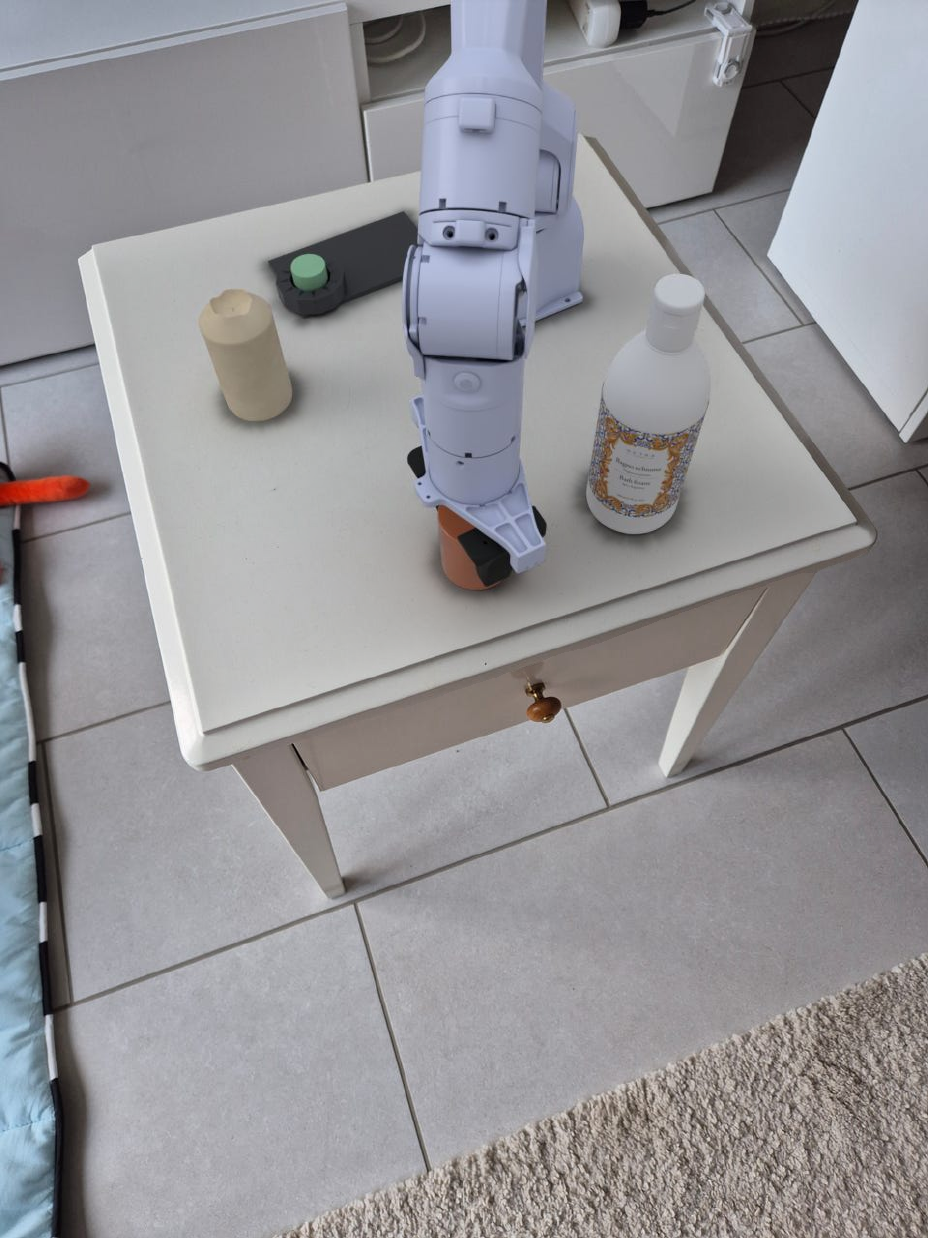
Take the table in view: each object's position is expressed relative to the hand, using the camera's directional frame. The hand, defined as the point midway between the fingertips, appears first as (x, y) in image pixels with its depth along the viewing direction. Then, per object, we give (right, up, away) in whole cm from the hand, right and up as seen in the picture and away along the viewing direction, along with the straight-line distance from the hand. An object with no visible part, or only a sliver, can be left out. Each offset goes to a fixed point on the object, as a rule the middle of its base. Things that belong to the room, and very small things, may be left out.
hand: (475, 548), depth 65 cm
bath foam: (+12, +4, +4) cm, 13 cm away
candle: (-18, +13, +10) cm, 24 cm away
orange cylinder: (0, -1, +1) cm, 2 cm away
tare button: (-14, +25, +14) cm, 32 cm away
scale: (-11, +27, +17) cm, 34 cm away
